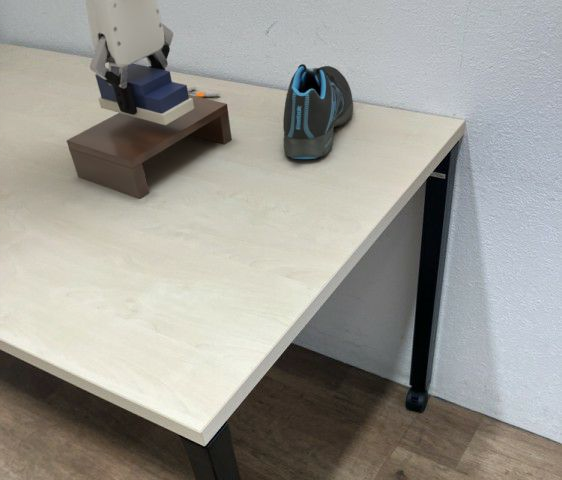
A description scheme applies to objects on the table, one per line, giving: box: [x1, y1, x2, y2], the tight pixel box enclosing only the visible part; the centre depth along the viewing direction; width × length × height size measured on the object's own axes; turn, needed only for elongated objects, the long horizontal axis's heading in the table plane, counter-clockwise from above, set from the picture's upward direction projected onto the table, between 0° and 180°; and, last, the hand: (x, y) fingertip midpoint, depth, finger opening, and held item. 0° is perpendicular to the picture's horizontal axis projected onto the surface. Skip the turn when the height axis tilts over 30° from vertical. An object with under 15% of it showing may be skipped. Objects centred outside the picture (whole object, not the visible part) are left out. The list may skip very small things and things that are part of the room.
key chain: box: [187, 86, 221, 98], centre depth 116 cm, size 13×7×1 cm, turn 118°
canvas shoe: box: [94, 63, 194, 125], centre depth 92 cm, size 14×6×5 cm, turn 54°
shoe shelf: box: [66, 94, 232, 200], centre depth 98 cm, size 22×14×6 cm, turn 144°
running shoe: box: [282, 63, 354, 160], centre depth 100 cm, size 10×26×11 cm, turn 170°
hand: (145, 102), depth 94 cm, fingers closed on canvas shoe, 6 cm apart
